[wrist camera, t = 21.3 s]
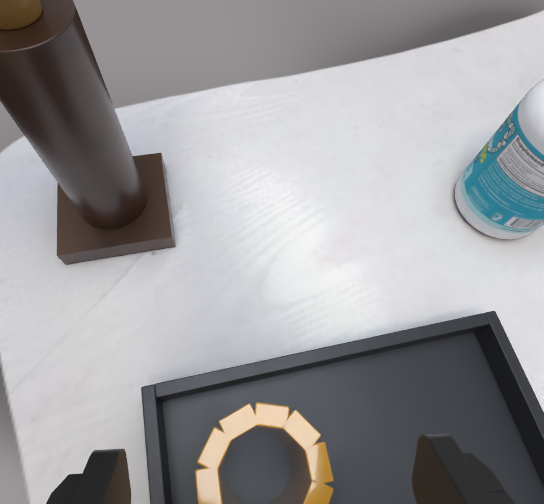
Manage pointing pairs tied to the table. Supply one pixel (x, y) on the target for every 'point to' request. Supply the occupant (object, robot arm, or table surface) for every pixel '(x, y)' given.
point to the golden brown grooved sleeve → (290, 432)
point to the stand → (79, 135)
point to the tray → (359, 415)
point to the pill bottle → (508, 175)
